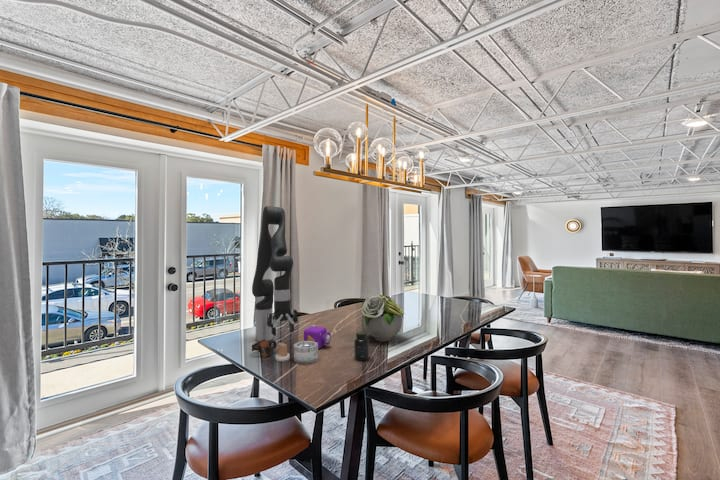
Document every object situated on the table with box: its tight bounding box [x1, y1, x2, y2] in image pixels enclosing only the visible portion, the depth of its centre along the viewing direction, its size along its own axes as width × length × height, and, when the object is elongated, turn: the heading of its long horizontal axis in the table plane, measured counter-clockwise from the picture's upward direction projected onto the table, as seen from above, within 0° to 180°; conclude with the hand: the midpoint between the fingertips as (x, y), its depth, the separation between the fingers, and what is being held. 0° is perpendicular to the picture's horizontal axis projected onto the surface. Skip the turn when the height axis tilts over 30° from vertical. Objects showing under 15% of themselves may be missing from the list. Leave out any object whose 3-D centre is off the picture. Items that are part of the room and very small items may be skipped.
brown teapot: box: [251, 339, 278, 359], centre depth 167 cm, size 12×10×8 cm
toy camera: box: [303, 324, 332, 350], centre depth 177 cm, size 11×14×10 cm
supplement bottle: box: [353, 331, 370, 362], centre depth 159 cm, size 7×7×12 cm
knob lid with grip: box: [275, 342, 291, 362], centre depth 160 cm, size 6×6×7 cm
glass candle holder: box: [293, 340, 319, 365], centre depth 158 cm, size 11×11×7 cm
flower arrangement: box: [360, 294, 405, 342], centre depth 188 cm, size 25×25×24 cm
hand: (282, 333), depth 159 cm, fingers open, 8 cm apart
